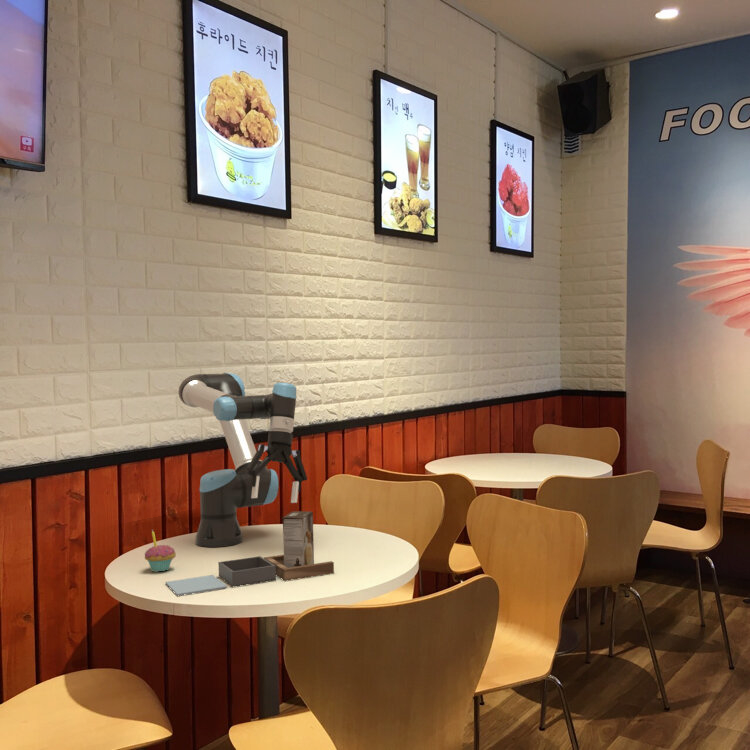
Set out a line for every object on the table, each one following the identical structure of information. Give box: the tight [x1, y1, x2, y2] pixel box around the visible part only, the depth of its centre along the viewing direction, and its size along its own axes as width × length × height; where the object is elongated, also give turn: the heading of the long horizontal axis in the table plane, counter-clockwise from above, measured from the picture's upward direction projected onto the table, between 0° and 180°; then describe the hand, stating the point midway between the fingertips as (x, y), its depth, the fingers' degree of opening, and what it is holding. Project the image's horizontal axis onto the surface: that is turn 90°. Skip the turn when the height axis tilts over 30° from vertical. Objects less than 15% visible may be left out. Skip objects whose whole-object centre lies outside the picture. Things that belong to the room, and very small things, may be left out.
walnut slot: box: [263, 554, 335, 581], centre depth 224 cm, size 16×15×3 cm
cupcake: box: [144, 529, 176, 572], centre depth 227 cm, size 9×8×12 cm
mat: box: [165, 574, 228, 597], centre depth 210 cm, size 13×13×1 cm
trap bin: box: [217, 556, 277, 588], centre depth 217 cm, size 12×12×4 cm
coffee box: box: [282, 510, 315, 568], centre depth 224 cm, size 9×6×16 cm
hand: (274, 500), depth 242 cm, fingers open, 13 cm apart
